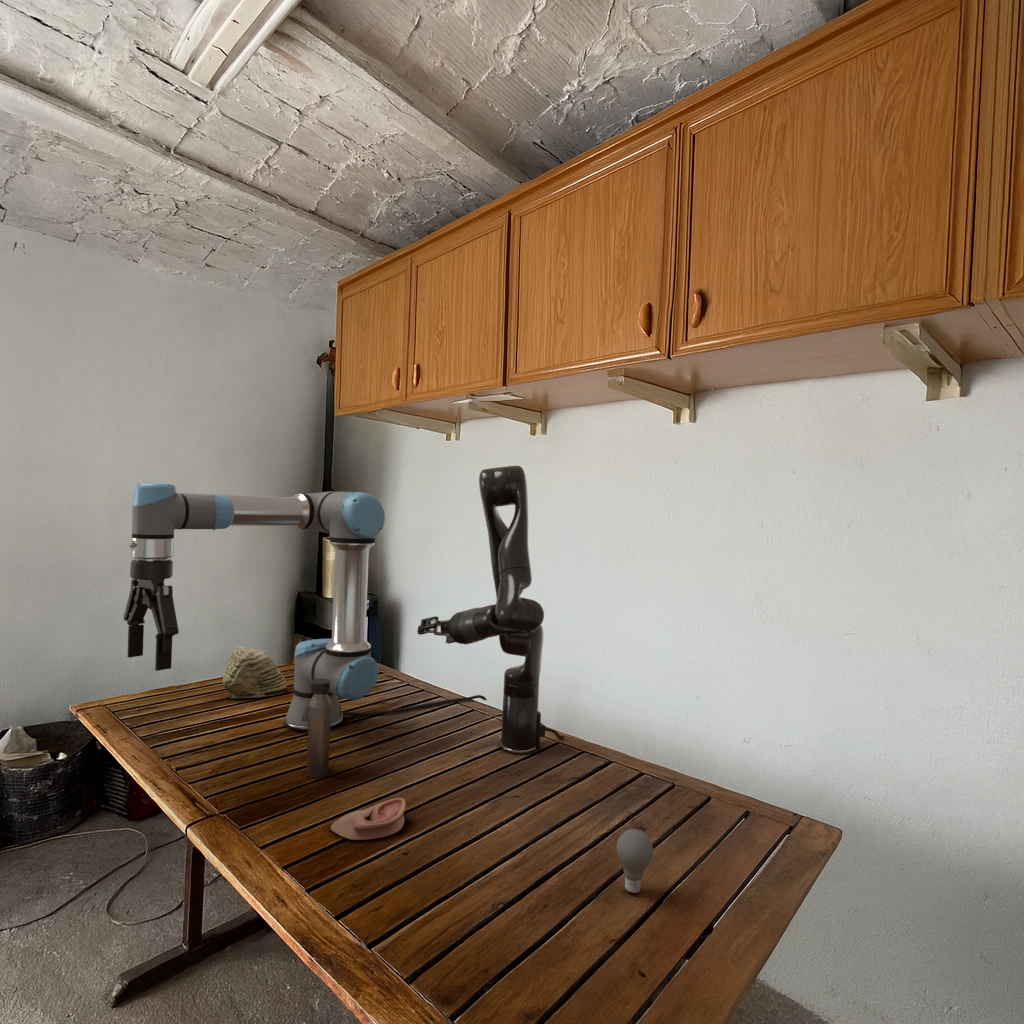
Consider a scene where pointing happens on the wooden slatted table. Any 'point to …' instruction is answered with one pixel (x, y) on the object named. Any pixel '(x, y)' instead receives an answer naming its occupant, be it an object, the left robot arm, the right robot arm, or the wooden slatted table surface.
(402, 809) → the anatomical model
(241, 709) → the wooden slatted table surface
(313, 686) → the cap
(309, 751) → the bottle
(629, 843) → the light bulb
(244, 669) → the fossil
